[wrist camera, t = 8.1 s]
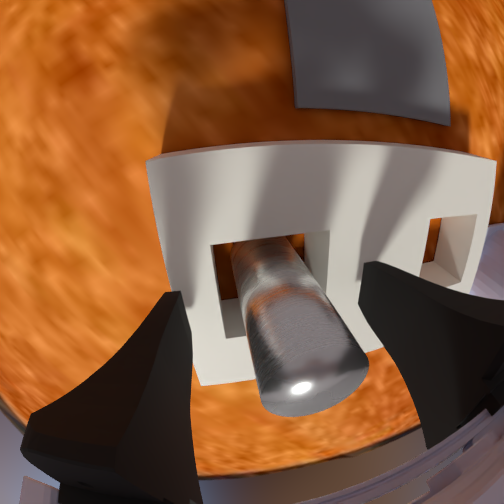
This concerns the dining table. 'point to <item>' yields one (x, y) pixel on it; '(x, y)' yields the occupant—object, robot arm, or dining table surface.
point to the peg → (293, 331)
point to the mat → (369, 57)
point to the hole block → (313, 225)
